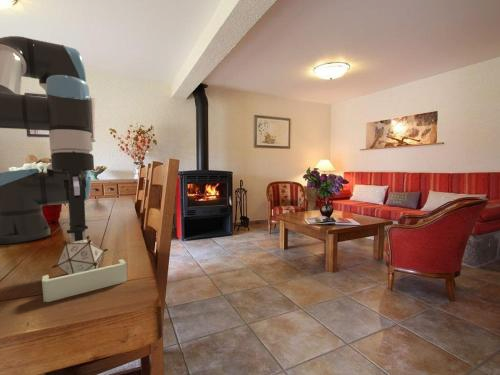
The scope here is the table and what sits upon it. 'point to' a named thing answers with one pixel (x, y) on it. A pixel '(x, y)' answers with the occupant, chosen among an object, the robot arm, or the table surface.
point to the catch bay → (83, 281)
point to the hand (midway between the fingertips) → (79, 260)
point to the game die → (80, 256)
